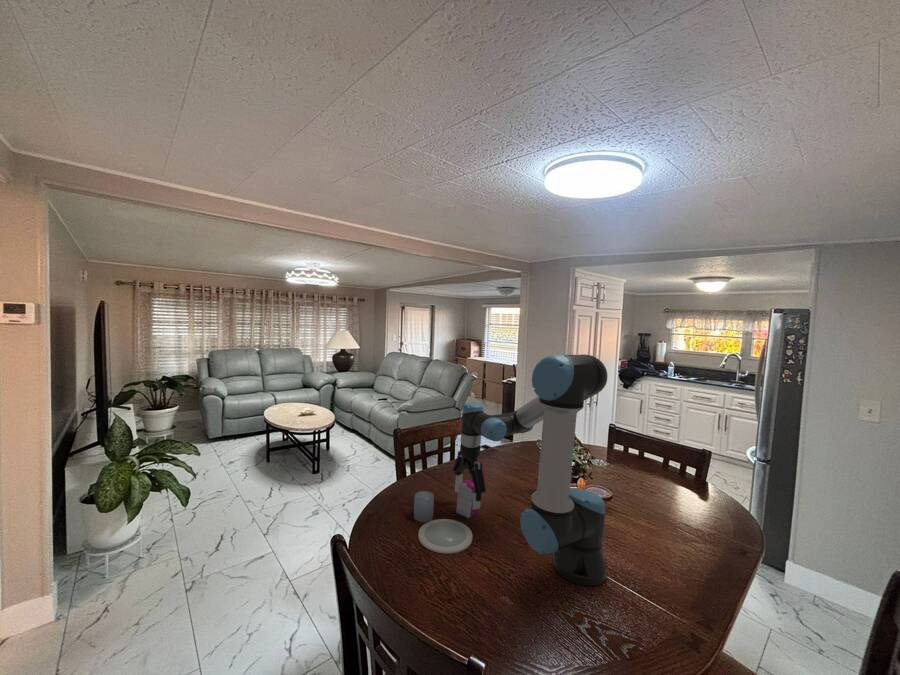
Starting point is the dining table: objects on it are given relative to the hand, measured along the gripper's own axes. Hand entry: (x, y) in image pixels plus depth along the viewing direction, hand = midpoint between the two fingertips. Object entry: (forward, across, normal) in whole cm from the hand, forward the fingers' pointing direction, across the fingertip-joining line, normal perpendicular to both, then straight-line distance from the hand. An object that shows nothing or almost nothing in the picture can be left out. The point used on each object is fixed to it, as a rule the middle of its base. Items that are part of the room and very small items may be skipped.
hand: (466, 499), depth 140 cm
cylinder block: (+5, +4, +16) cm, 17 cm away
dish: (+5, -10, +14) cm, 18 cm away
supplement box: (+6, 0, 0) cm, 6 cm away
